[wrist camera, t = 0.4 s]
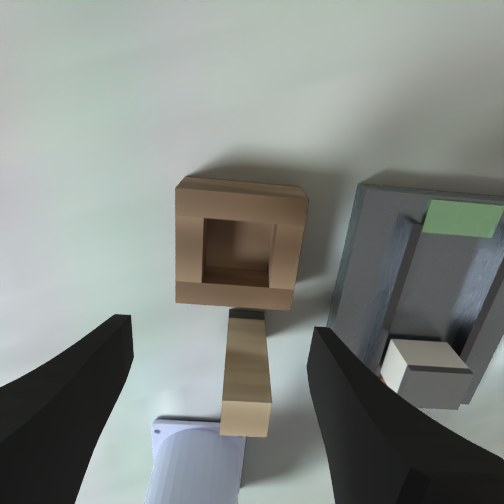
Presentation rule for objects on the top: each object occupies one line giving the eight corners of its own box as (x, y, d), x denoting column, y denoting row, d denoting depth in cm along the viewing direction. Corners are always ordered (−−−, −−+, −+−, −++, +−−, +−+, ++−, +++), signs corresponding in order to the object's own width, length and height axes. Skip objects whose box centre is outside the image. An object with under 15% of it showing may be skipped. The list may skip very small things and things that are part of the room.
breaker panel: (457, 389, 27) (476, 415, 25) (314, 381, 27) (320, 406, 24) (544, 200, 21) (581, 212, 18) (358, 183, 20) (372, 193, 18)
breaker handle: (433, 375, 24) (457, 409, 21) (380, 371, 24) (397, 406, 21) (446, 342, 23) (474, 374, 20) (391, 338, 23) (411, 370, 20)
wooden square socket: (285, 286, 23) (290, 310, 20) (184, 278, 23) (175, 302, 20) (300, 186, 20) (309, 199, 17) (185, 176, 20) (175, 187, 17)
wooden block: (260, 339, 25) (266, 437, 17) (227, 337, 25) (219, 435, 17) (263, 311, 24) (271, 403, 16) (229, 309, 24) (222, 400, 16)
